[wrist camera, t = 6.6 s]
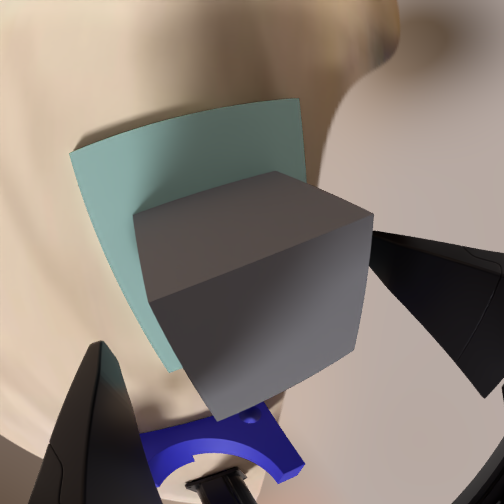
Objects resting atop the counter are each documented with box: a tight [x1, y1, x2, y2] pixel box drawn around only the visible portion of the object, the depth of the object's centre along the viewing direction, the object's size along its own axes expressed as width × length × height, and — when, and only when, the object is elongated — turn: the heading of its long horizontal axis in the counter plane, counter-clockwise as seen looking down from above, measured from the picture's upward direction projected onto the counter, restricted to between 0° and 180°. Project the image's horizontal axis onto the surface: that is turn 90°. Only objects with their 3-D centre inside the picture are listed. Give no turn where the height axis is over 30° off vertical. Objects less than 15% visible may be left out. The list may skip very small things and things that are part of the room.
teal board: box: [69, 98, 307, 373], centre depth 10 cm, size 10×8×1 cm
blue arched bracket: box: [140, 401, 305, 487], centre depth 14 cm, size 12×4×6 cm, turn 87°
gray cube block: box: [133, 171, 374, 422], centre depth 8 cm, size 5×5×4 cm
